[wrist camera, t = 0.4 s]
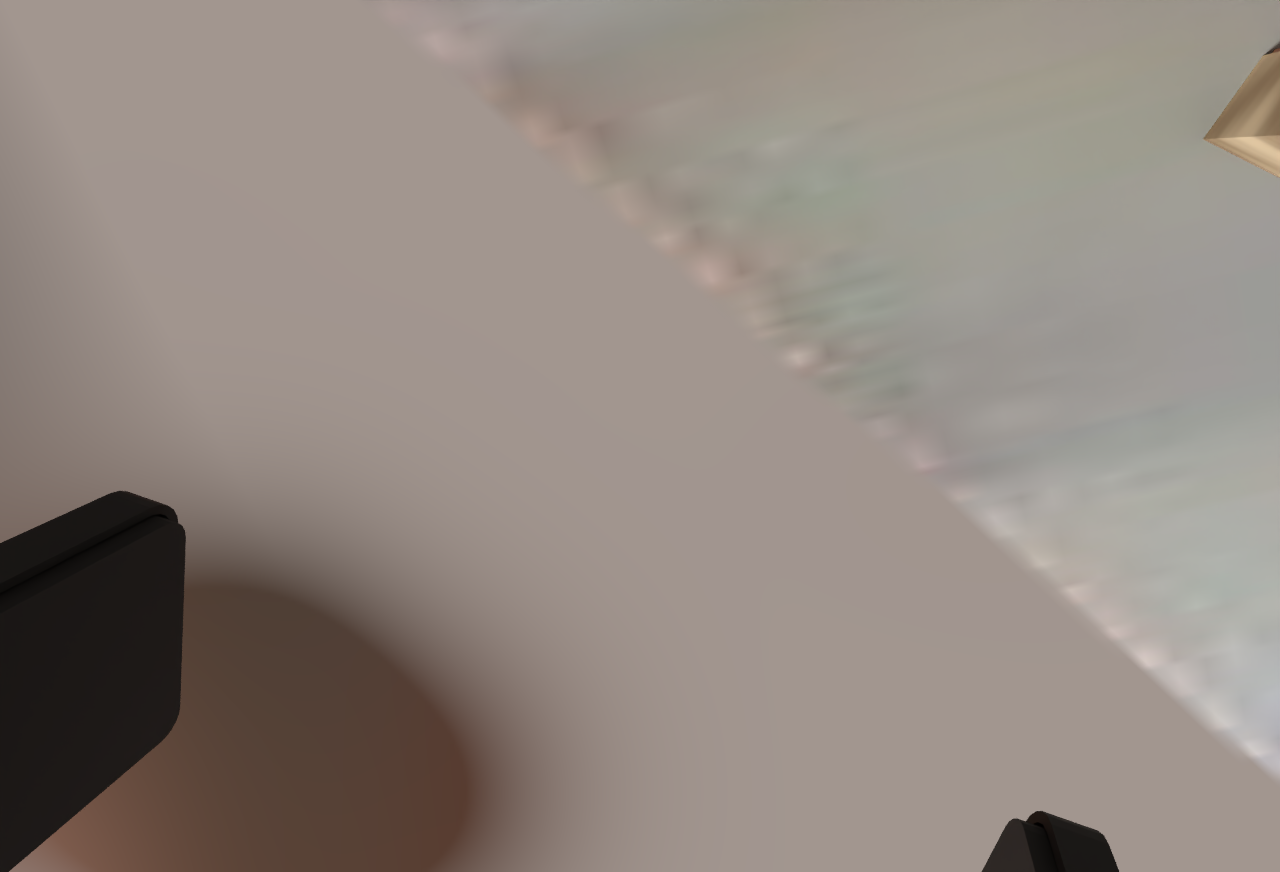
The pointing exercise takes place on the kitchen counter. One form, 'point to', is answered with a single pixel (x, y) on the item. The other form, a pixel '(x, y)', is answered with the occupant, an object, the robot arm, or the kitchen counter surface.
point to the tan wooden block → (1253, 118)
